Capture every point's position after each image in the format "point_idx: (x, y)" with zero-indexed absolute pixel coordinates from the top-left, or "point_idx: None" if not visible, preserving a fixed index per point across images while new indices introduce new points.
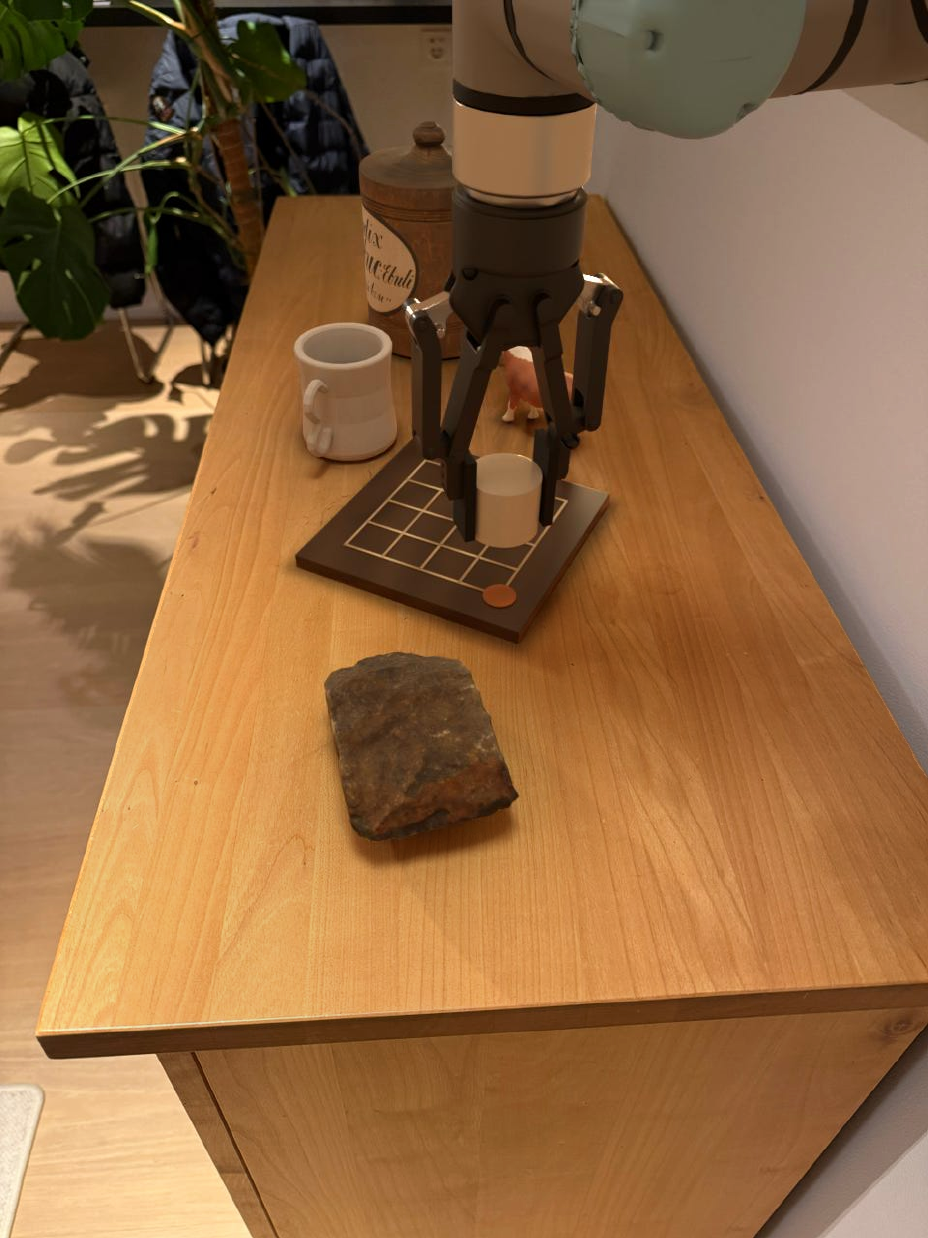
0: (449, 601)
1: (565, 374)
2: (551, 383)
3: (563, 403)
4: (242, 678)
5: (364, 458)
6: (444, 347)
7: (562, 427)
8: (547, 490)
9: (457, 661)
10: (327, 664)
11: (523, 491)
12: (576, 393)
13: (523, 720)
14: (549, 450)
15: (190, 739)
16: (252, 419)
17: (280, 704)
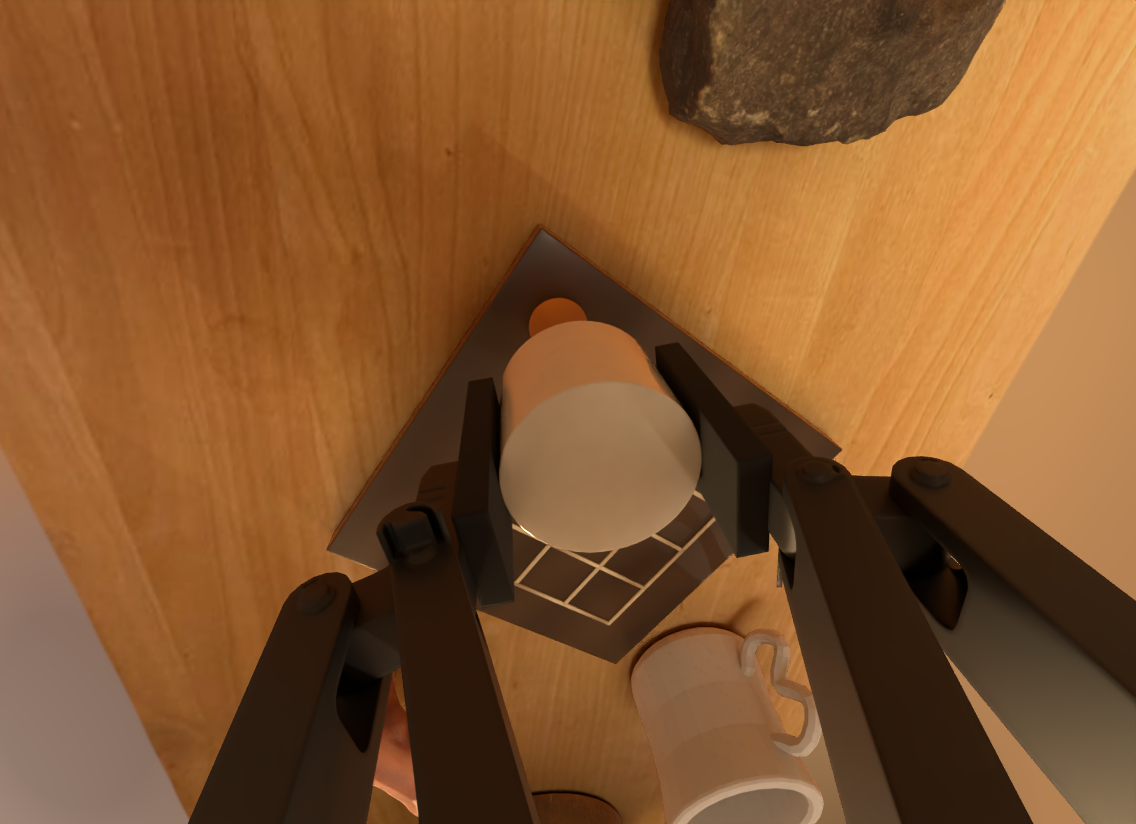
0: (644, 323)
1: (374, 780)
2: (498, 773)
3: (433, 669)
4: (980, 210)
5: (685, 630)
6: (537, 812)
7: (439, 578)
8: (486, 428)
9: (724, 58)
10: (853, 222)
11: (570, 397)
12: (364, 727)
13: (568, 6)
14: (488, 507)
15: (1101, 78)
16: None
17: (950, 137)
